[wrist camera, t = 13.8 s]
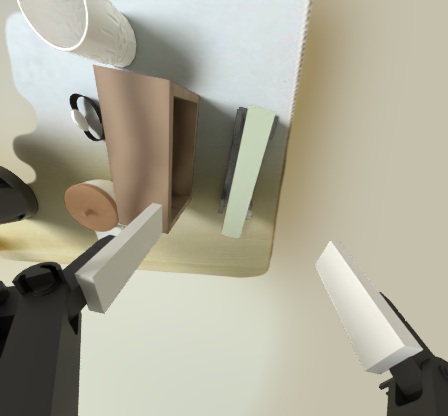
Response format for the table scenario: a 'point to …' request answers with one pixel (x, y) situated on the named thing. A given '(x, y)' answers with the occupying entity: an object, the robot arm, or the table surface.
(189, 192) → the cabinet
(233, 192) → the door panel
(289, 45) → the table surface
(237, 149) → the clip rail
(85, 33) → the white cup
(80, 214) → the lidded jar
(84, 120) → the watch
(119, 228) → the external hard drive
